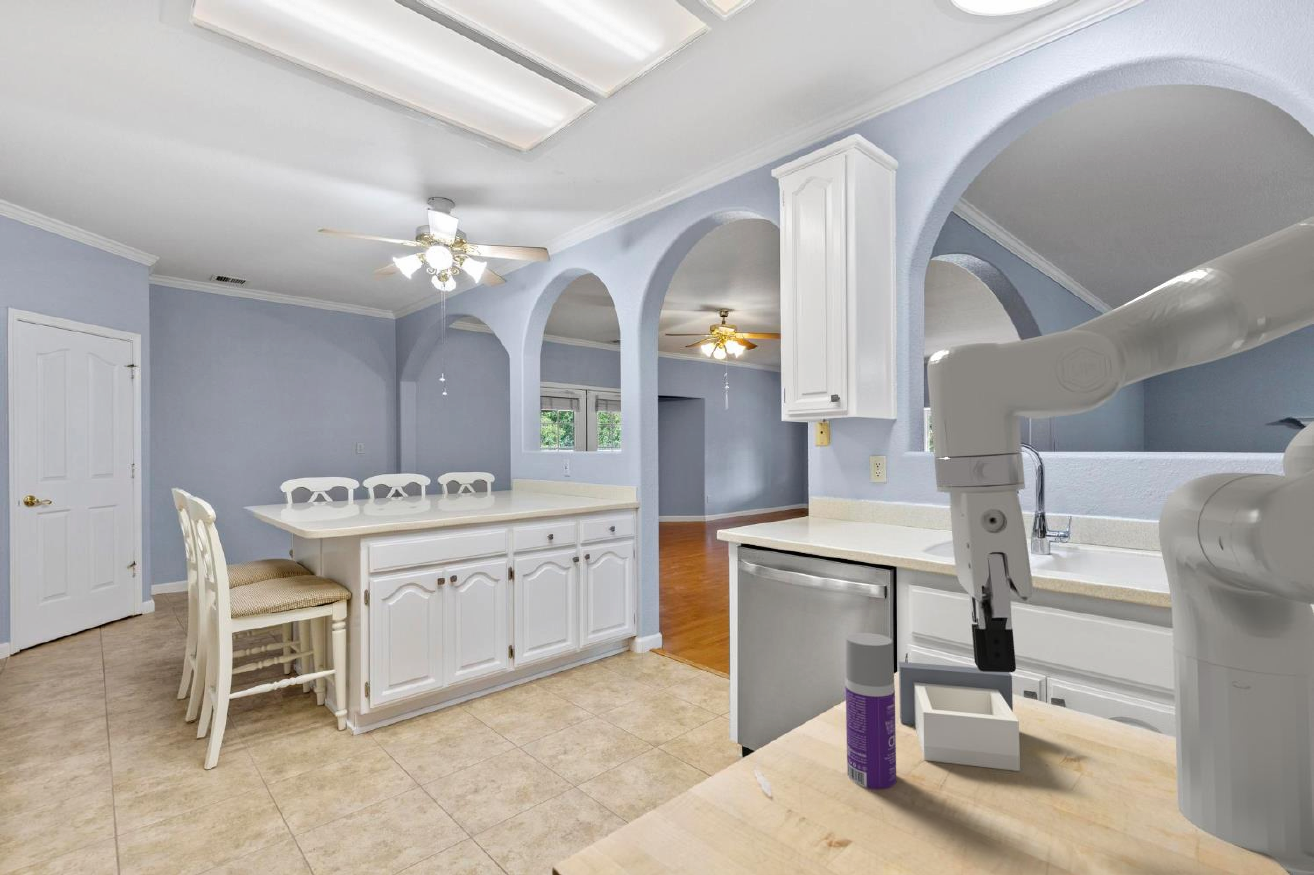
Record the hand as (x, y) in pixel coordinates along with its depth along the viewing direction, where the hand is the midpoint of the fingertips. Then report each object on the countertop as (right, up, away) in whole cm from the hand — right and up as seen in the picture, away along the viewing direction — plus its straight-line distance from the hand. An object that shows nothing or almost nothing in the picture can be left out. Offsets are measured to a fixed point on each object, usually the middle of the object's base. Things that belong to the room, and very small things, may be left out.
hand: (995, 668), depth 60 cm
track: (+1, -13, +7) cm, 15 cm away
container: (-10, -14, +4) cm, 18 cm away
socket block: (+2, -12, +10) cm, 16 cm away
